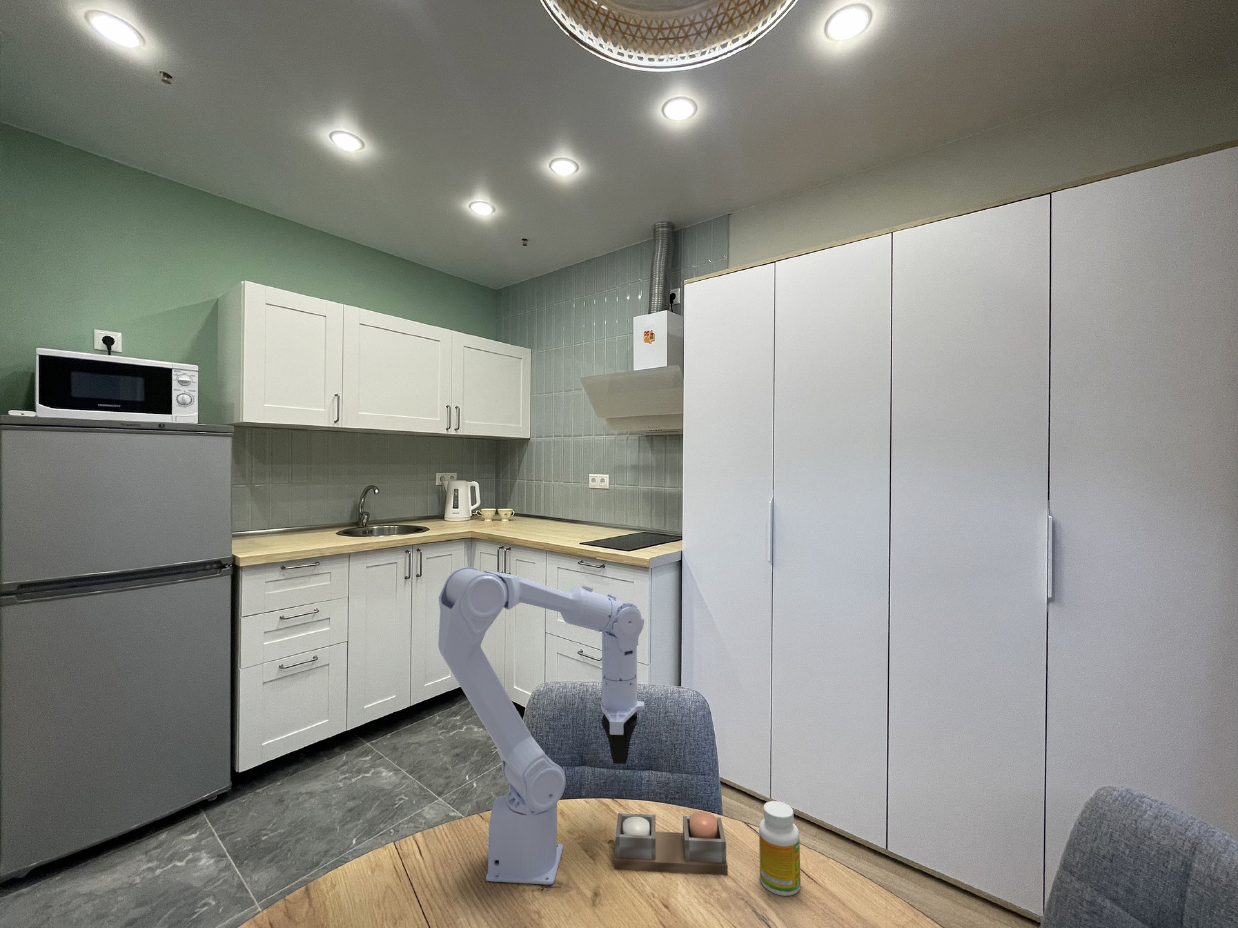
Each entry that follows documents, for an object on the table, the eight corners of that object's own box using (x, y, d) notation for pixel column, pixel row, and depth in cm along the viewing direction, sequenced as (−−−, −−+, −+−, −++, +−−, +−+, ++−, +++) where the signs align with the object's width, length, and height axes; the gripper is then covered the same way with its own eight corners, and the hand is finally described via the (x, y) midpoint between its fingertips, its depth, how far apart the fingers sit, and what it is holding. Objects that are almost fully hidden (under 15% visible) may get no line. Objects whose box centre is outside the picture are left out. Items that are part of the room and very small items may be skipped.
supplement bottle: (803, 900, 68) (801, 822, 69) (761, 894, 69) (759, 817, 70) (797, 872, 73) (796, 800, 74) (758, 866, 74) (757, 796, 75)
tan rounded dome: (690, 844, 75) (690, 827, 75) (689, 827, 79) (689, 810, 79) (718, 845, 75) (718, 828, 75) (715, 828, 79) (715, 812, 79)
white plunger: (621, 849, 75) (622, 832, 76) (623, 832, 79) (623, 816, 80) (649, 851, 75) (649, 833, 75) (649, 833, 79) (649, 817, 79)
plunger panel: (614, 869, 74) (614, 839, 74) (617, 837, 81) (617, 810, 81) (727, 874, 73) (727, 844, 73) (721, 842, 80) (721, 815, 80)
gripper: (642, 691, 77) (643, 786, 76) (644, 662, 92) (645, 741, 91) (595, 690, 78) (596, 785, 77) (605, 661, 92) (605, 740, 91)
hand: (619, 761), depth 84 cm, fingers closed
